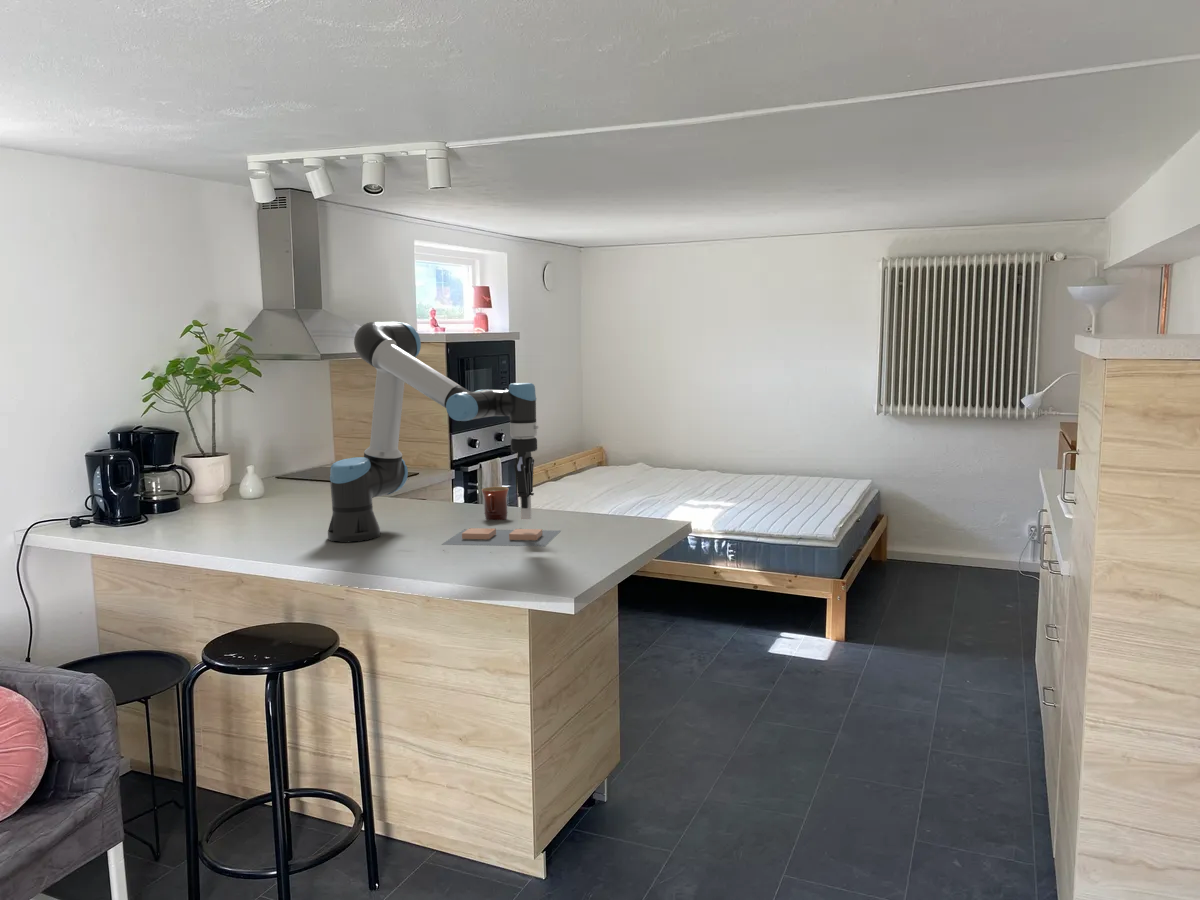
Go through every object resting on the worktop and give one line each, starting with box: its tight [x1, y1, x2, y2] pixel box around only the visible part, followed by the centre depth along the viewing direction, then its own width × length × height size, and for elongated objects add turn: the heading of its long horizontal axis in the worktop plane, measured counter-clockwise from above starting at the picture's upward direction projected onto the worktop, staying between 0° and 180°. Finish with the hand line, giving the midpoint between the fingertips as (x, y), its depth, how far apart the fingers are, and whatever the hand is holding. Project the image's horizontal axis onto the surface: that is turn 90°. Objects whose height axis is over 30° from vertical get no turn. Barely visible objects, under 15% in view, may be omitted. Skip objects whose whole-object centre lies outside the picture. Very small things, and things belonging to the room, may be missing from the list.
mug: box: [481, 486, 509, 521], centre depth 281 cm, size 12×9×10 cm
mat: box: [441, 528, 561, 547], centre depth 252 cm, size 30×20×1 cm, turn 80°
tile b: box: [509, 528, 543, 541], centre depth 251 cm, size 8×2×7 cm
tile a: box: [462, 527, 497, 540], centre depth 253 cm, size 8×2×7 cm
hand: (526, 518), depth 252 cm, fingers closed
